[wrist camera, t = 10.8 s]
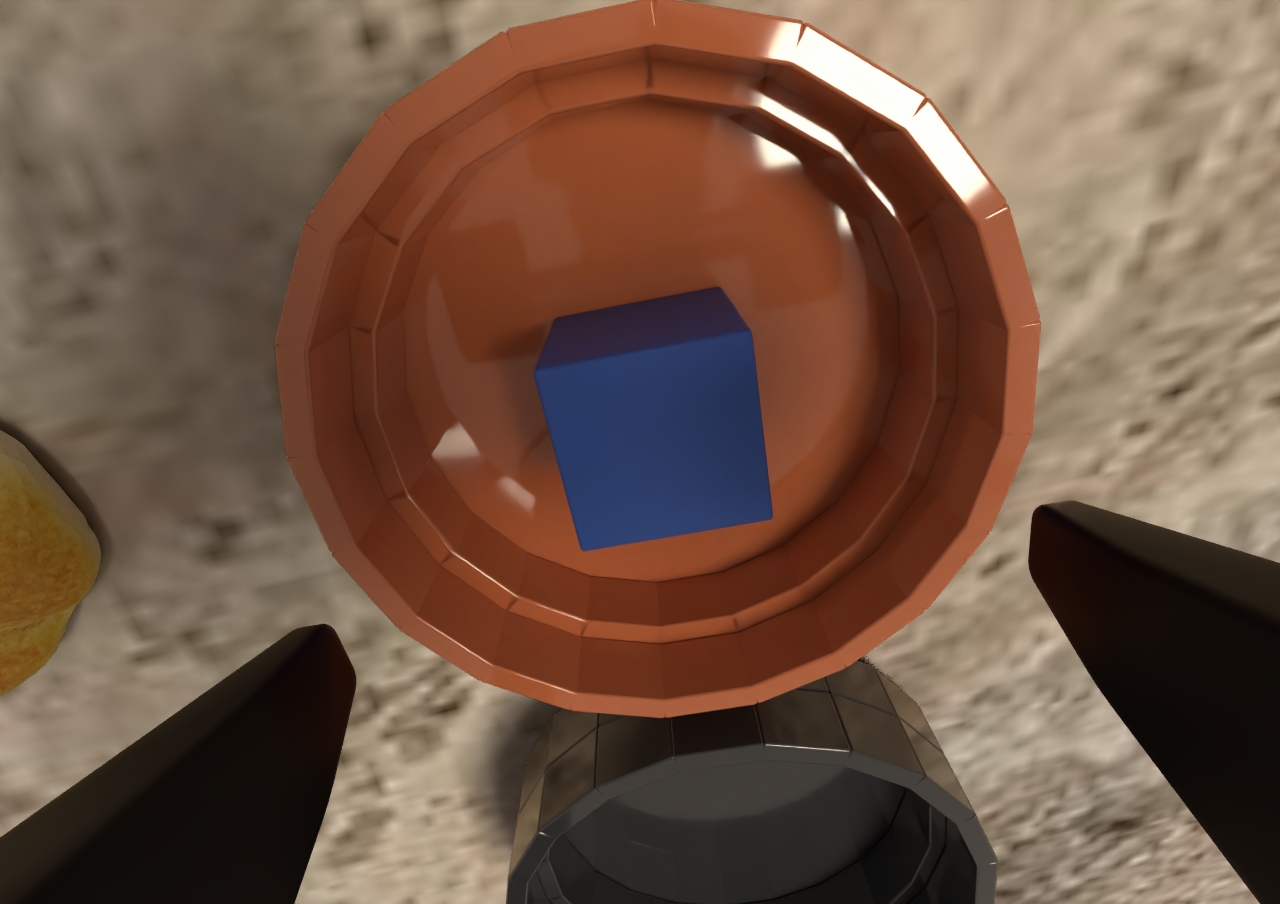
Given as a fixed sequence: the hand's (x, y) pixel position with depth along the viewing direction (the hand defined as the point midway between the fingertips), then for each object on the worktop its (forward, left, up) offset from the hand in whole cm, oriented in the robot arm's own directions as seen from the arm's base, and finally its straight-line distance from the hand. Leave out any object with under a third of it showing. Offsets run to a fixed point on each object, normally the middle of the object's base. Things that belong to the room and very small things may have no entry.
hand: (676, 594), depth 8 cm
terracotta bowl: (0, 0, -9) cm, 9 cm away
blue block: (0, 0, -8) cm, 9 cm away
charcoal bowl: (-16, 0, -9) cm, 18 cm away
